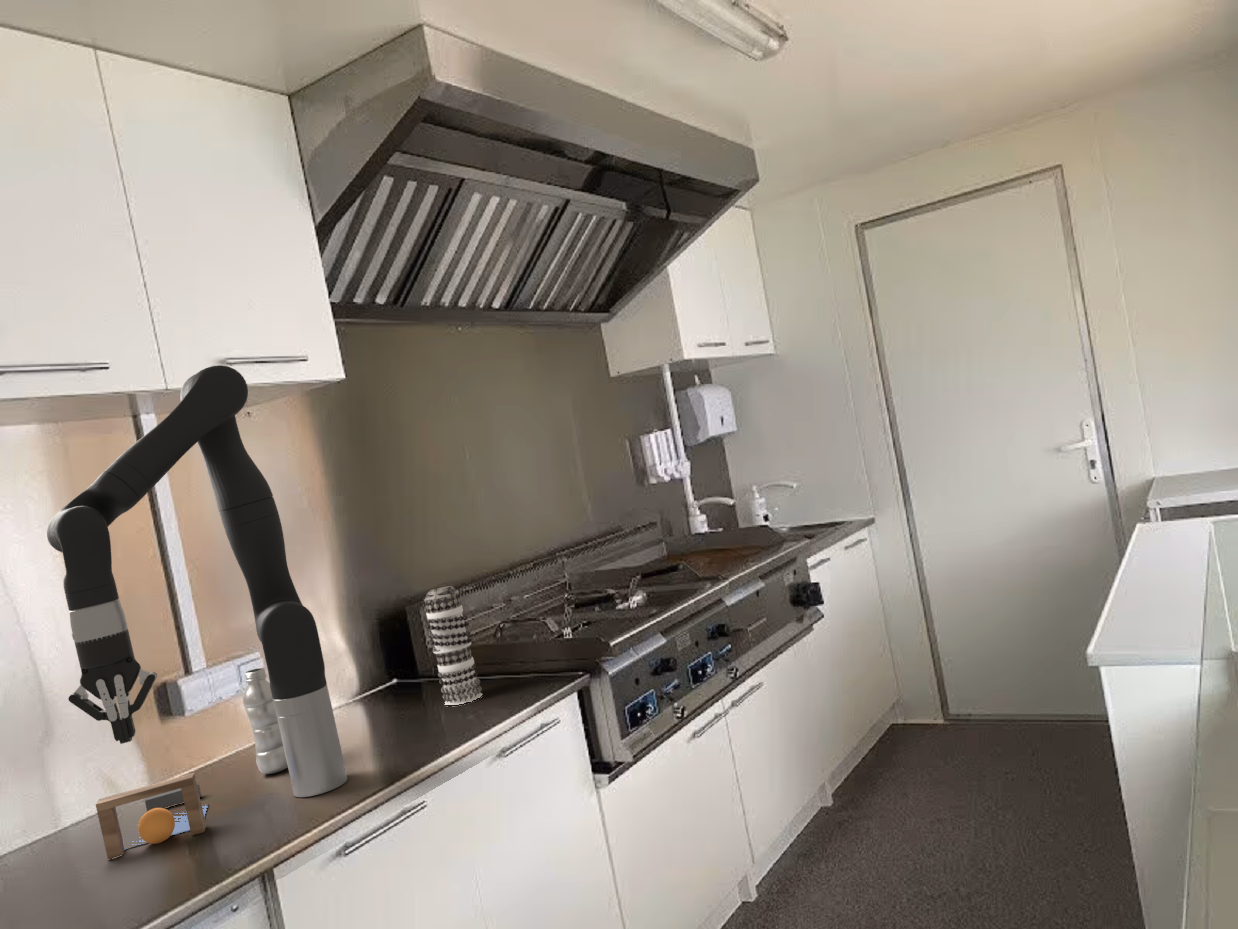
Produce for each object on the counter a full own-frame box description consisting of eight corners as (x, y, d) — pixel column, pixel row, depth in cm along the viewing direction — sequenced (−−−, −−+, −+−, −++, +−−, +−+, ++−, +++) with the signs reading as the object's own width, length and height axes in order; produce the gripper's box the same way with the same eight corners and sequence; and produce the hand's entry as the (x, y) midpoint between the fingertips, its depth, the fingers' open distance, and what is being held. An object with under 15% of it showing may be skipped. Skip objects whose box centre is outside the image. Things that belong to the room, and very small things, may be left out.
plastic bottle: (298, 762, 194) (276, 662, 193) (288, 774, 187) (265, 670, 187) (266, 769, 194) (244, 669, 193) (254, 781, 187) (231, 678, 186)
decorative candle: (433, 707, 217) (409, 595, 216) (464, 693, 224) (441, 585, 223) (462, 707, 211) (437, 592, 210) (492, 693, 218) (468, 582, 218)
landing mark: (130, 828, 174) (129, 826, 174) (208, 805, 177) (208, 804, 177) (116, 852, 161) (116, 851, 161) (201, 827, 165) (201, 826, 165)
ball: (140, 803, 160) (128, 839, 158) (175, 809, 161) (164, 845, 159) (149, 807, 165) (137, 842, 163) (182, 812, 166) (171, 847, 163)
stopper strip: (149, 811, 182) (146, 797, 182) (201, 796, 184) (198, 783, 184) (147, 814, 180) (144, 800, 180) (200, 799, 183) (197, 785, 183)
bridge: (111, 854, 161) (99, 799, 161) (206, 826, 165) (194, 772, 165) (108, 860, 158) (95, 804, 158) (204, 832, 162) (192, 777, 162)
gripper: (150, 619, 160) (174, 724, 160) (59, 641, 156) (85, 748, 156) (143, 625, 152) (168, 734, 153) (48, 648, 148) (74, 760, 149)
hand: (126, 741), depth 155 cm, fingers closed
